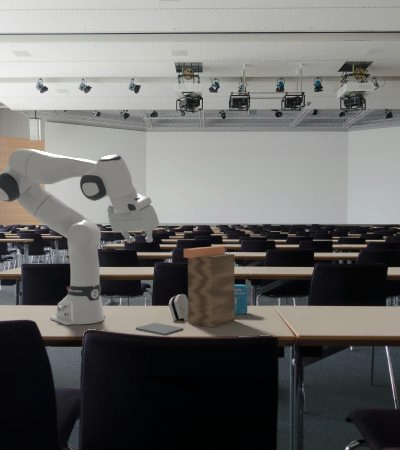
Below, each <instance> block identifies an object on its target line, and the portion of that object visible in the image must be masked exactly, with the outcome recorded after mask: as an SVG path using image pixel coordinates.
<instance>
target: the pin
mask: <svg viewBox="0 0 400 450" xmlns="http://www.w3.org/2000/svg"><path fill="white" fill-rule="evenodd" d="M219 254H226V246H225V245H223V246H222V245H217V246H216V245H214V246H206V247H205V246H204V247H203V246H202V247H193V248H184V249H183V258H187V259H188V258H194V257H202V256H211V255H219Z"/></svg>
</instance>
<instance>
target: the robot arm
mask: <svg viewBox="0 0 400 450" xmlns="http://www.w3.org/2000/svg"><path fill="white" fill-rule="evenodd" d="M7 163H8V164H7V166H6V167H5V168H4V169H3V170H2V171H1V172H0V200H2V201H4V202H7V203H11V202H13V201H17V203H18V204H19V205H20V206H21V207H22V208H23V209H24V210H25V211H26V212H27V213H28V214H30V215H31V216H32V217H34V218H35V219H37V221H39V222H41V223H42V224H43V225H45V226H46V227H47V228H49V229H50V230H52V231H54V232H55V233H58V234H59V235H61V236H63V237H64V238H66V239H67V250H68V257H69V266H70V285H69V286H67V287H66V290H67V294H66V296H65V297H63V298H62V300H61V301H59V302H57V306H56V313H55V314H53V315H51V316H50V317H49V319H50V320H52V321H55V322H58V323H60V324H61V325H62V324H63V325H64V326H65V325H66V326H69V325H72V326H73V325H88V324H89V325H91V324H96V323H97V324H98V323H101V322H102V321H104V320H105V317H106V315H105V313H104V310H103V309H104V308H103V300H102V299H103V297H102V296H101V293H102V286H101V285H102V284H100V260H99V250H98V244H99V242H100V240H101V238H102V234H101V233H102V232H101V229H100V227H99V225H97V224H96V223H94V222H93V221H92V220H90V219H88V217H85V216H84V215H83V214H81V213H79V212H78V211H77V210H75V209H73V208H71V206H69V205H68V204H67V203H64V202H63V201H62V200H61V199H59V198H57V197H56V196H55V195H53V194H52V193H50V191H47V190H46V189H44V188H43V187H42V186H41V185H54V184H57V183H59V182H62V181H65V180H68V179H73V178H80V181H79V188H80V190H81V192H82V195H83V196H84V197H86V199H88V200H90V201H95V202H96V201H100V200H102V199H104V198H106V197H108V198H109V200H110V203H111V204H110V205H109V206H107V208H106V209H107V210H106V211H107V216H108V217H107V218H108V221H109V225H110V228H111V230H112V232H114V233H117V232H118V233H119V232H120V233H121V235H122V236H123V238H124V239H125V240H126V242H127V244H131V243H133V242H134V237H133V236H131V234H130V233H129V232H136V231H137V232H140V231H144V234H146V237H144V239H145V242H146V243H152V242H153V241H154V238H153V230H155V229H156V228H158V227H159V224H160V222H159V218H158V215H157V213H156V210H155V208H154V206H153V205H151V204H152V200H151V198H150V197H149V196H146V195H143V194H141V193H137V190H136V188H135V187H134V184H133V181H132V179H133V178H132V175H131V171H130V170H129V167H128V165H127V163H126V162H125V160H124V158H123V157H122V156H121V155H118V154H109V155H105V156H102V157H100V158H99V159H98V160H90V159H85V158H79V157H71V156H66V155H65V156H64V155H58V154H53V153H49V152H45V151H41V150H38V149H33V148H32V149H31V148H17V149H14V150H13V151H12V152H11V153H10V155H9V157H8V162H7Z"/></svg>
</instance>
